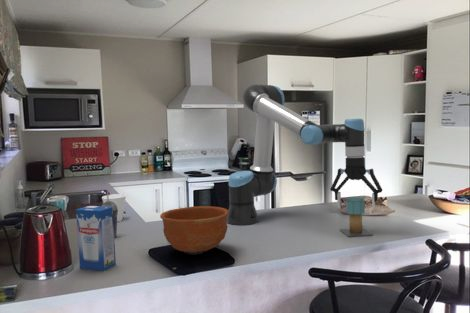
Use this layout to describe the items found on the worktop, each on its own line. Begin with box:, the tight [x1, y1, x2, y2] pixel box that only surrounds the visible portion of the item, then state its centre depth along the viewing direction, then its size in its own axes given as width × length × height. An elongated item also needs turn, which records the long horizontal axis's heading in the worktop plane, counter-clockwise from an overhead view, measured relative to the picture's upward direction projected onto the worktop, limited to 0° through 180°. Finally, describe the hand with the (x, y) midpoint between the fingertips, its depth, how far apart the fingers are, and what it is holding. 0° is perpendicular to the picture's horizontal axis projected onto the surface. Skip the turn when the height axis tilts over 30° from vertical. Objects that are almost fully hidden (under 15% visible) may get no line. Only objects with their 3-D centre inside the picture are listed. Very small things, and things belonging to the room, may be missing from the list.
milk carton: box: [75, 205, 117, 272], centre depth 135 cm, size 10×6×20 cm, turn 69°
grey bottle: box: [101, 190, 118, 239], centre depth 170 cm, size 7×7×20 cm
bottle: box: [339, 214, 374, 238], centre depth 164 cm, size 10×10×13 cm
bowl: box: [159, 205, 229, 253], centre depth 146 cm, size 25×25×15 cm
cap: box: [345, 196, 366, 215], centre depth 164 cm, size 7×7×6 cm
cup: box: [101, 193, 127, 223], centre depth 202 cm, size 12×12×12 cm
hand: (356, 208), depth 164 cm, fingers open, 13 cm apart
